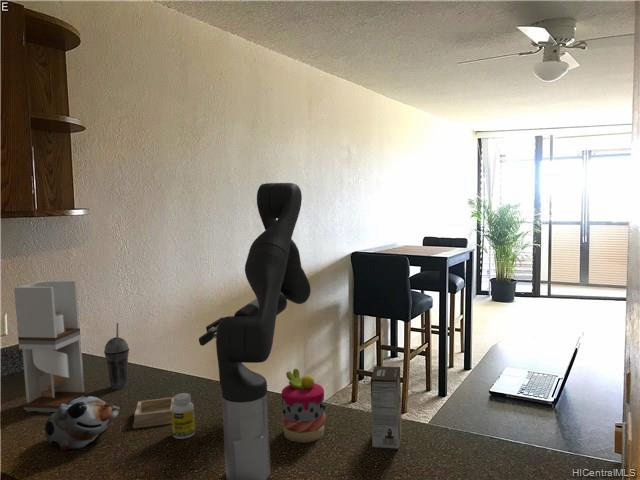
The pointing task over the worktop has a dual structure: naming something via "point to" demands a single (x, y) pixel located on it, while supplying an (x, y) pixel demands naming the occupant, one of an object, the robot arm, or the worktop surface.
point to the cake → (303, 409)
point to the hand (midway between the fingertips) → (211, 346)
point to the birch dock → (153, 412)
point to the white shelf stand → (50, 343)
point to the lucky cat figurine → (79, 422)
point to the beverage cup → (117, 361)
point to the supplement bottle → (183, 416)
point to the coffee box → (386, 407)
